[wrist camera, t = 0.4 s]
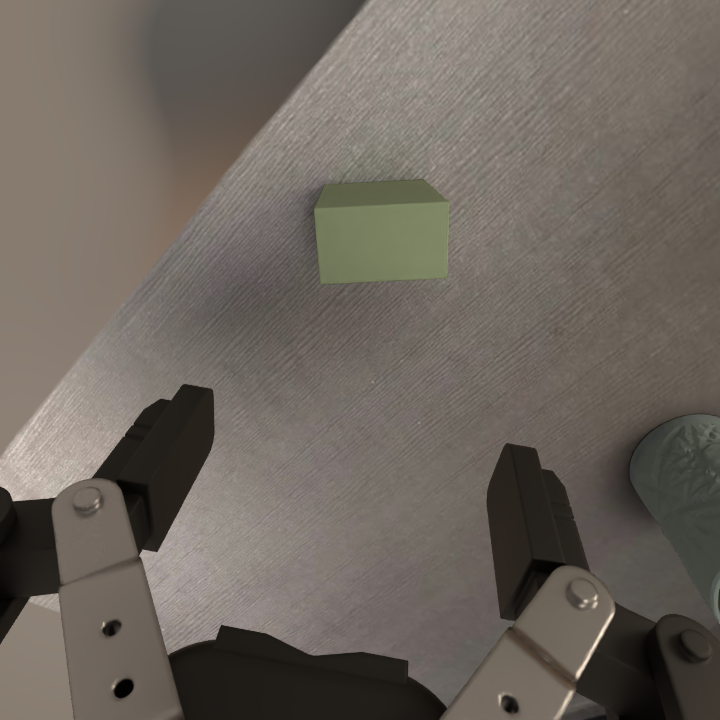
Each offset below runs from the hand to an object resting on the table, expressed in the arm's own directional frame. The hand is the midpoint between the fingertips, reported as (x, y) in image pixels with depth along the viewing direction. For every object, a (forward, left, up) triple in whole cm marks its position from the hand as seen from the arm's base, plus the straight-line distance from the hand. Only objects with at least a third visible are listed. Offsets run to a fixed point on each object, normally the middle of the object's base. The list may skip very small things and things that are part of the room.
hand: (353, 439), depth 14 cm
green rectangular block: (-1, +3, -21) cm, 21 cm away
